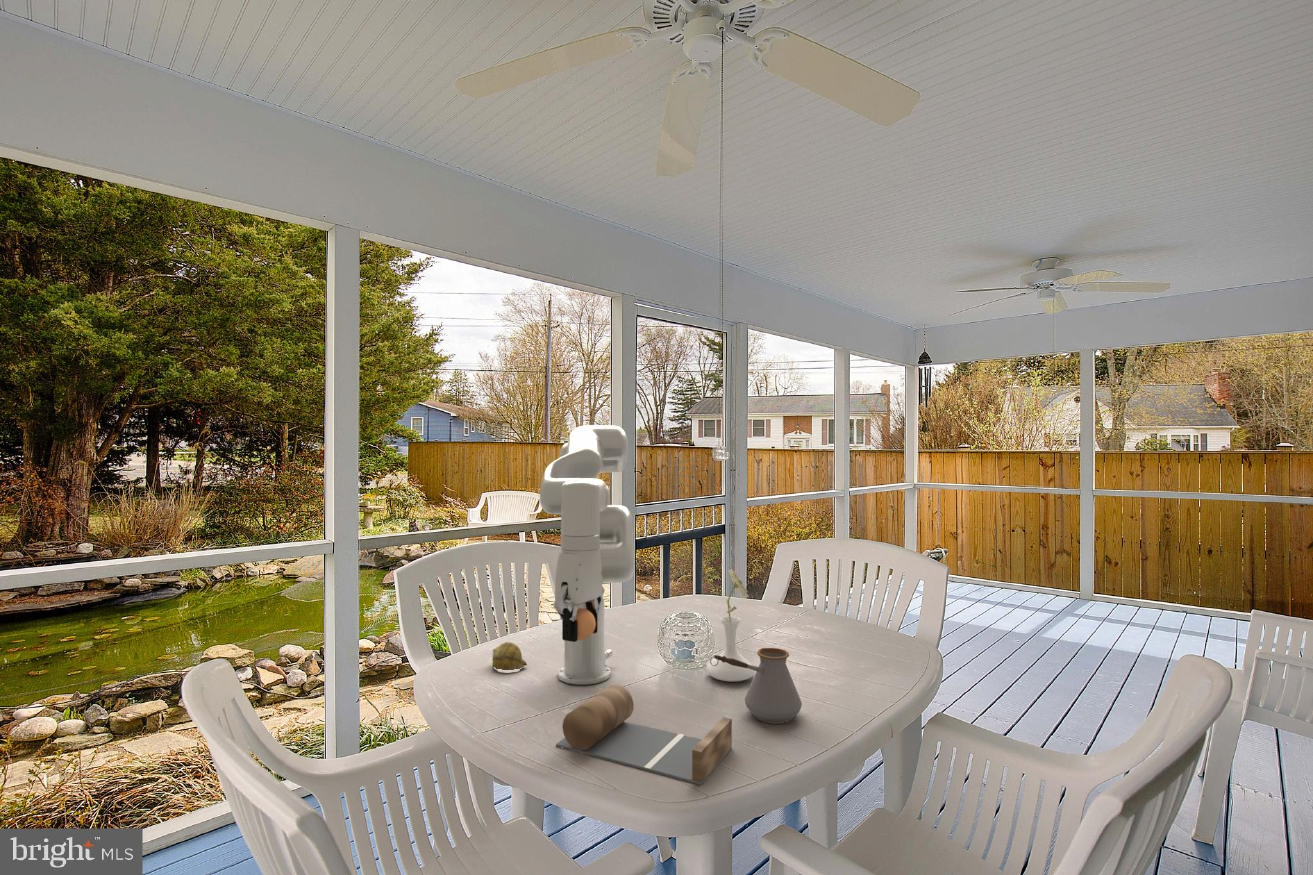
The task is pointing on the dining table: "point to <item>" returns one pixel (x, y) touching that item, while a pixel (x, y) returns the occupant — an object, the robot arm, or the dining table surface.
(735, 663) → the coffee pot
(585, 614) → the ball
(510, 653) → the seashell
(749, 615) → the dining table surface
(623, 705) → the brown cylinder
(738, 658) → the flower in vase
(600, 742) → the throwing mat
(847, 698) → the dining table surface
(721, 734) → the backstop board
